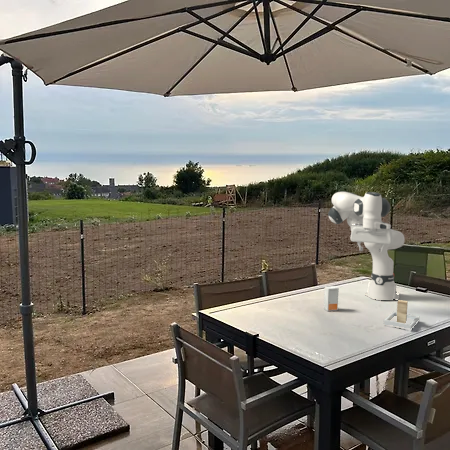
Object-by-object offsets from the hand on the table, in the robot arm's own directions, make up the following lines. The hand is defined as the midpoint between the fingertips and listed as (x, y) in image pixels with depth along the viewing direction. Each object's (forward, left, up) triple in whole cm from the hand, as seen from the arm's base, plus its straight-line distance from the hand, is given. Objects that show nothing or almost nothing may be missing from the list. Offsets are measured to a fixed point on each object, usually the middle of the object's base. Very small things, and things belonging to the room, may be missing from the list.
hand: (370, 251), depth 213 cm
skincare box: (+10, -16, -31) cm, 37 cm away
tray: (+10, +19, -31) cm, 38 cm away
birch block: (+10, +19, -30) cm, 37 cm away
